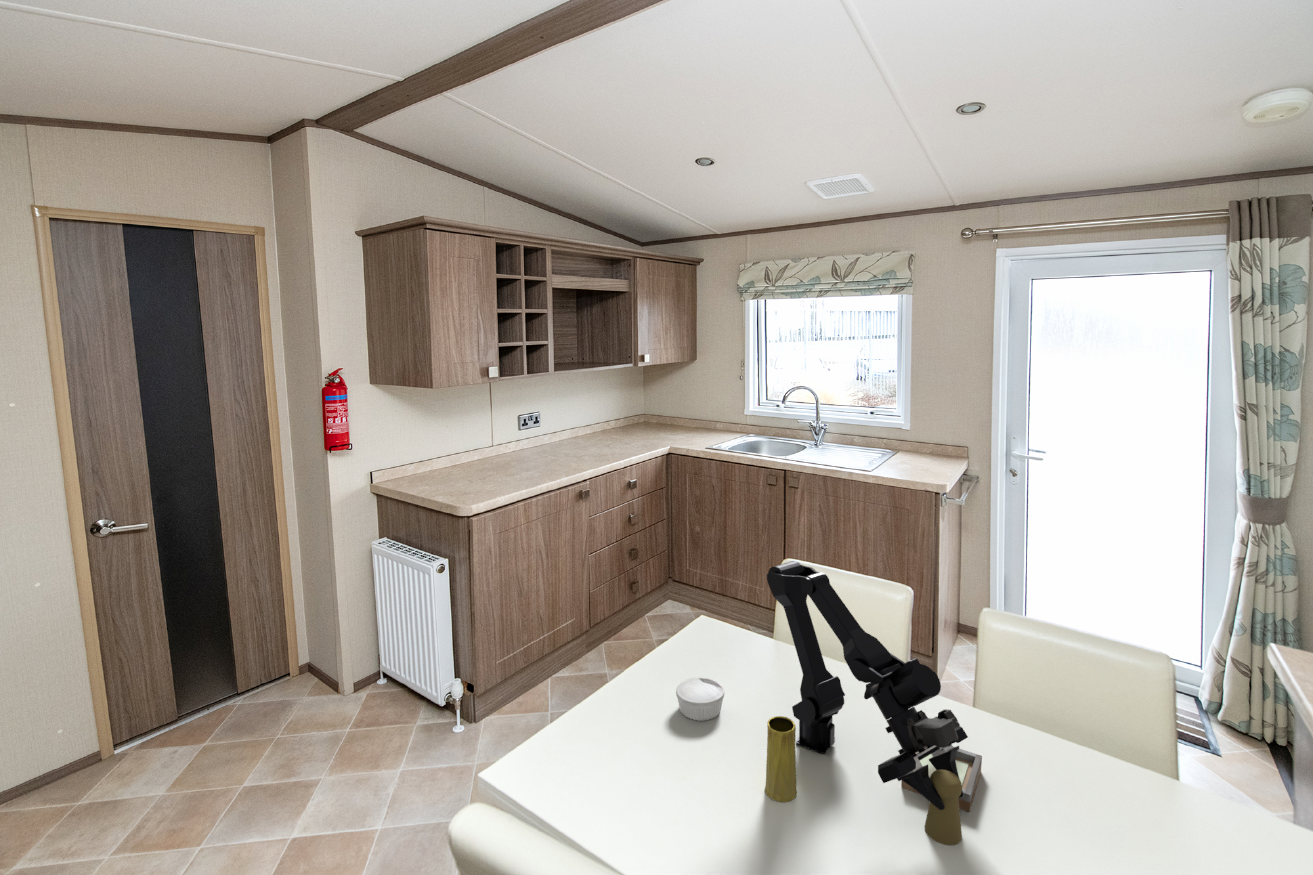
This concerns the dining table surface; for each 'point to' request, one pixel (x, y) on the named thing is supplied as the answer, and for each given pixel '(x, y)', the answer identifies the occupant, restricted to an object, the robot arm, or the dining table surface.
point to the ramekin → (700, 698)
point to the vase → (781, 759)
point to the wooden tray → (967, 772)
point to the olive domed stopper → (947, 821)
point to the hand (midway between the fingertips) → (952, 803)
